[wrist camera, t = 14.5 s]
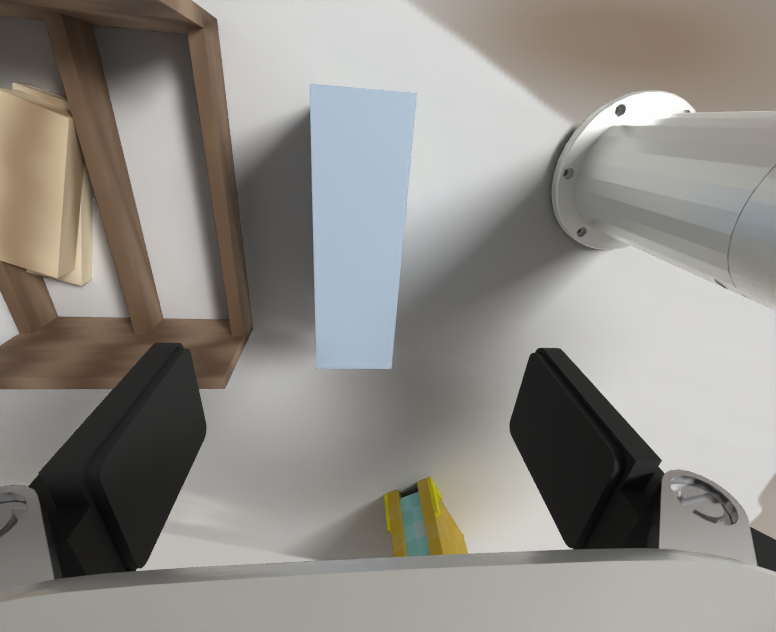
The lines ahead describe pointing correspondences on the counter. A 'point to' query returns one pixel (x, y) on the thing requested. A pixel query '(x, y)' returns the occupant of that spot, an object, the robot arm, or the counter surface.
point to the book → (422, 523)
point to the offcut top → (39, 184)
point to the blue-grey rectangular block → (358, 220)
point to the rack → (127, 214)
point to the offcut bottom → (84, 238)
